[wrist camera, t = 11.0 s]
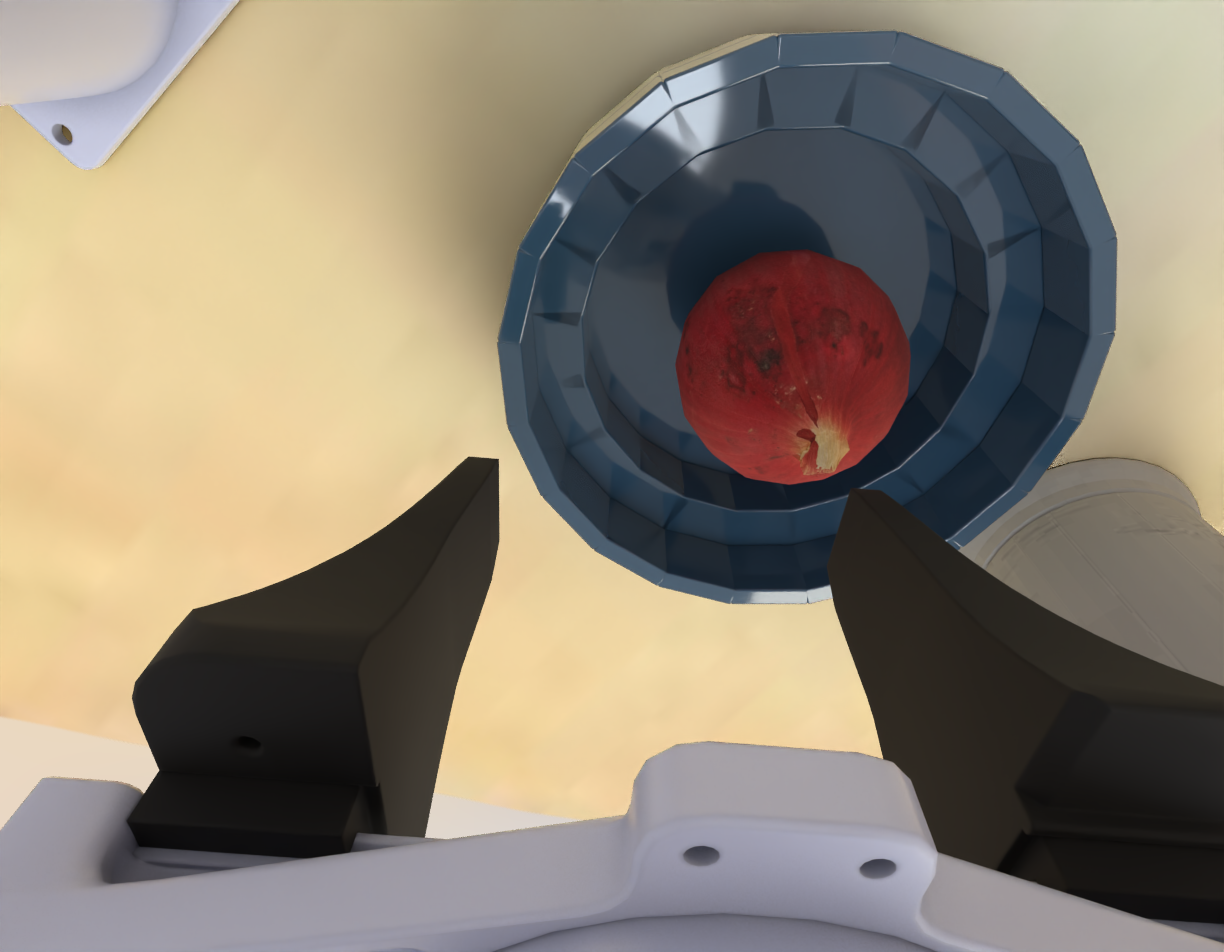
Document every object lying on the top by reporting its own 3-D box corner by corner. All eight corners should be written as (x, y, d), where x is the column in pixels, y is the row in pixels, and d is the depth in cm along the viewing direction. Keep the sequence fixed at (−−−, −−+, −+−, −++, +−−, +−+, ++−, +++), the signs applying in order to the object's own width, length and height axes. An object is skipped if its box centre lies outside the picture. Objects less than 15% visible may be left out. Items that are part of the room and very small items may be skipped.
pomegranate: (635, 288, 21) (634, 408, 14) (815, 179, 19) (913, 256, 12) (724, 435, 24) (760, 596, 17) (891, 350, 22) (1007, 492, 15)
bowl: (426, 268, 21) (374, 325, 17) (875, -119, 16) (959, -176, 12) (699, 573, 27) (710, 672, 23) (1089, 359, 22) (1196, 435, 18)
